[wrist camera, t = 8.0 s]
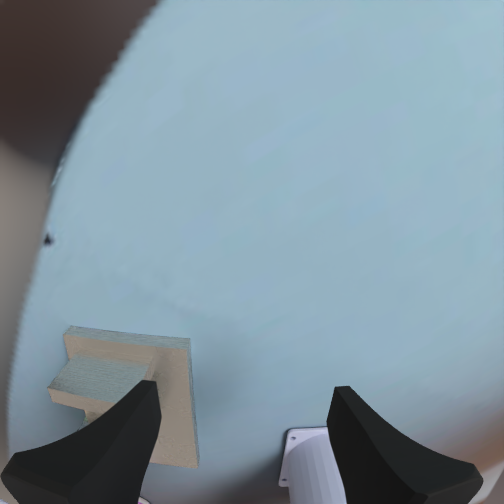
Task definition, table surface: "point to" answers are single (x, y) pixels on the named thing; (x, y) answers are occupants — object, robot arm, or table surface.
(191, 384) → the stand frame
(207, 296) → the table surface
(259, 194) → the table surface
